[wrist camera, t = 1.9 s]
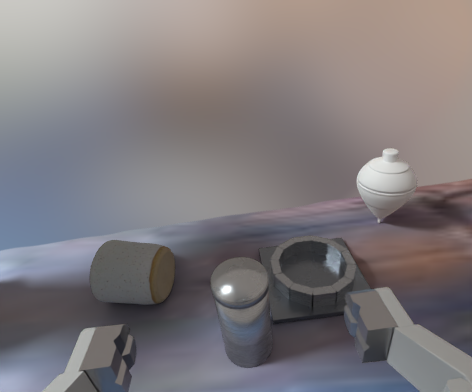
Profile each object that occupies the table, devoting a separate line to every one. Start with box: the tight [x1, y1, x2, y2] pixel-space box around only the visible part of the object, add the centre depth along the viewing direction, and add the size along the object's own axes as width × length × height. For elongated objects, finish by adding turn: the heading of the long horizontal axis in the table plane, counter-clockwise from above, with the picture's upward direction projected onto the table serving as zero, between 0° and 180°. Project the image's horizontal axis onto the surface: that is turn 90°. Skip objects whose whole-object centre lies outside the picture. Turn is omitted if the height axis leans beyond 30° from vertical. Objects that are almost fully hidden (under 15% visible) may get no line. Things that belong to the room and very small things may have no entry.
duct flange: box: [259, 236, 371, 324], centre depth 38 cm, size 12×12×3 cm
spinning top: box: [357, 148, 417, 223], centre depth 44 cm, size 8×8×12 cm
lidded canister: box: [210, 257, 272, 368], centre depth 30 cm, size 5×5×10 cm
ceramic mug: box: [90, 240, 175, 305], centre depth 39 cm, size 11×8×8 cm
